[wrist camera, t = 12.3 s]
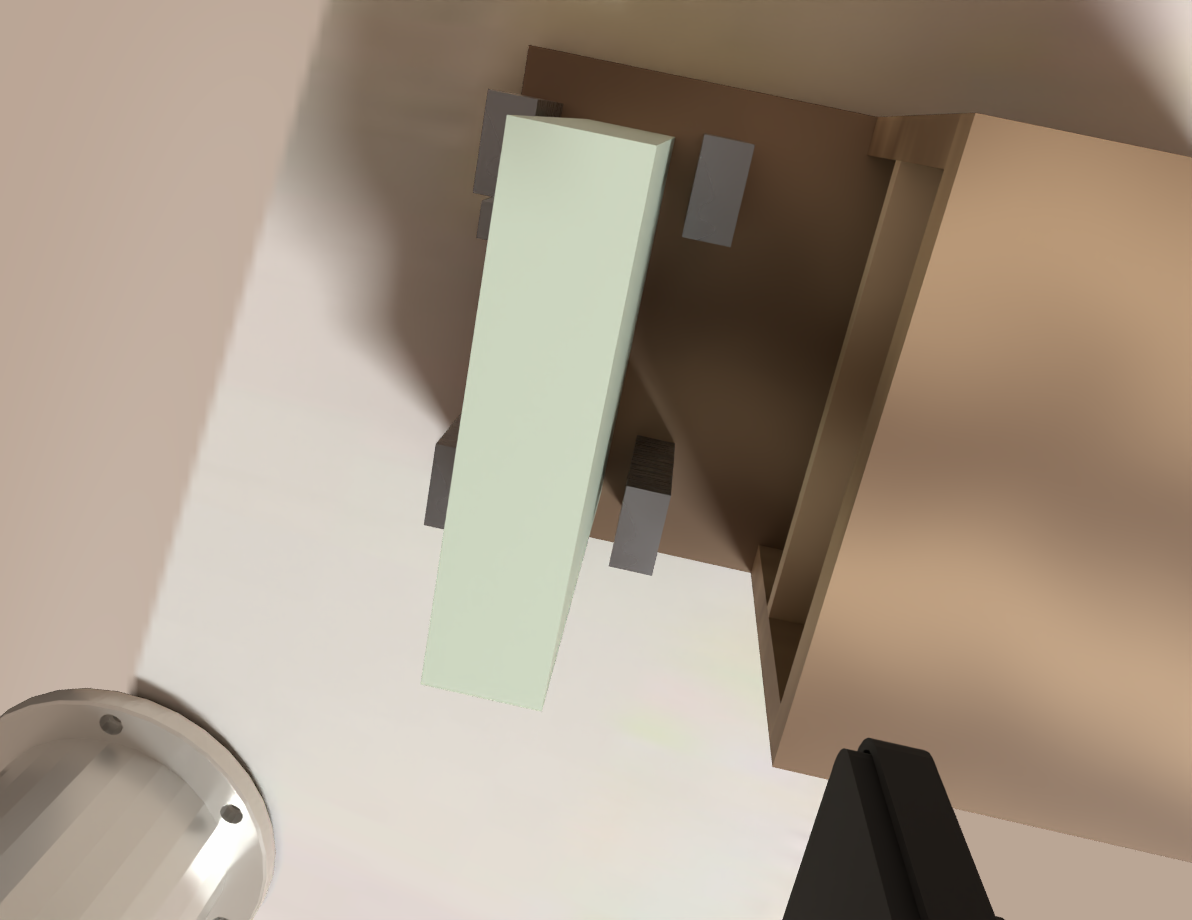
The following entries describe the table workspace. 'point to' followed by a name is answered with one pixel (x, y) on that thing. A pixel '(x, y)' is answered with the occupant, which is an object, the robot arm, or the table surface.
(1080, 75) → the table surface
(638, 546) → the hinge clips
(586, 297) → the door
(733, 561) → the cabinet
